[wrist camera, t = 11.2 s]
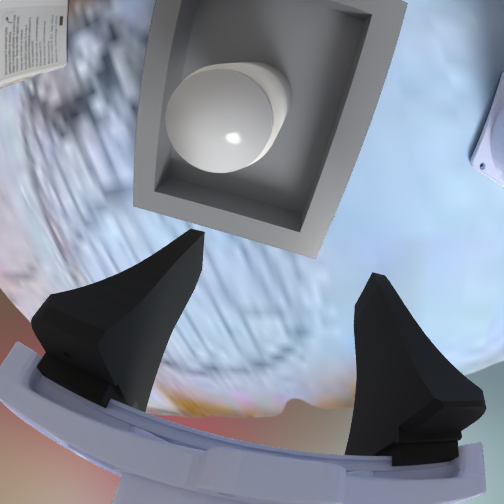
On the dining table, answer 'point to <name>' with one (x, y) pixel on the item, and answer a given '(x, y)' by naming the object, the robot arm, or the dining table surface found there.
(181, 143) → the shaker
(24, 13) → the container
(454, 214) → the dining table surface
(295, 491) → the robot arm
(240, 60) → the tray
